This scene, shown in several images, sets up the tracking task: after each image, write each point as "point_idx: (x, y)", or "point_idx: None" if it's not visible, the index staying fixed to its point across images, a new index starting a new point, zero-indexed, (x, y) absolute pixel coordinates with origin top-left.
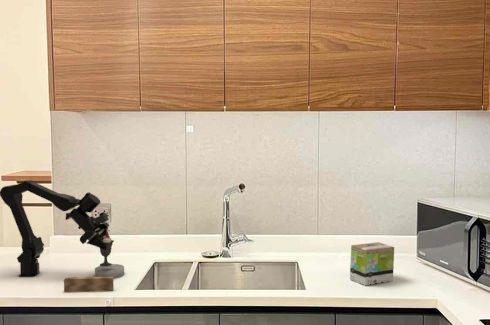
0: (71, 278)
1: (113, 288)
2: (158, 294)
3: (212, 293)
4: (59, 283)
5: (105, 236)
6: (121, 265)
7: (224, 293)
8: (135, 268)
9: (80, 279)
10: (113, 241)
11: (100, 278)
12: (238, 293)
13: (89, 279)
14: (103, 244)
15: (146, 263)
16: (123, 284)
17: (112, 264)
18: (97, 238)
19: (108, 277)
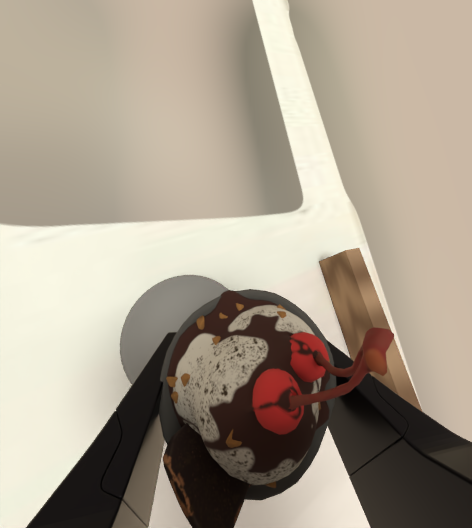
0: (409, 390)
1: (321, 261)
2: (322, 156)
3: (291, 70)
4: (315, 480)
5: (313, 390)
6: (144, 298)
7: (286, 53)
8: (93, 265)
9: (397, 352)
10: (234, 294)
11: (372, 284)
12: (281, 35)
13: (383, 320)
14: (337, 349)
15: (8, 243)
16: (277, 249)
17: (127, 348)
18: (456, 440)
19: (358, 262)
